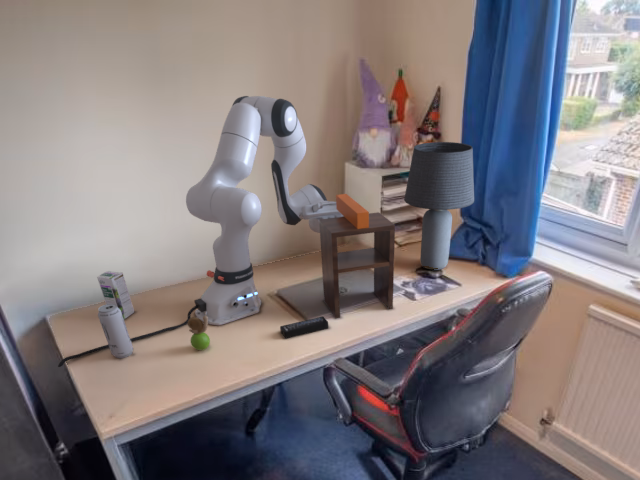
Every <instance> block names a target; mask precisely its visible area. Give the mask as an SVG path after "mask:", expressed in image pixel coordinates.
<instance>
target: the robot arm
mask: <svg viewBox="0 0 640 480" xmlns="http://www.w3.org/2000/svg"><path fill="white" fill-rule="evenodd" d="M261 136H262V137H266V138H267V137H268V138H271V141H272V144H273V150H274V151H273V152H274V153H273V159H272V161H271V164H270V169H271V176H272V181H273V185H274V190H275V196H276V202H277V212H278V215H279V218H280V219H281V221H282V222H283V223H284V224H285V225H289V226H296V225H298V224H299V223H300V222H301V221H302V220H308V226H309V228H310V230H311V231H312V232H315V233H317V234H320V225H319V219H328V218H336V217H344V216H343V215H342V214H341V213H340V212H339V211H338V210H337V209H336V201H330V200H328V199H327V196H326V195H325V193H324V192H323V190H322V189H321V188H320V187H319V186H317V185H314V184H312V183H308V184H305V186H303V187H301V188H299V189H298V190H296V191H295V192H294V193H292V194H290V190H289V178H290V177H291V175H292V173H293V172H294V170H295V169H296V168H297V167H298V165H300V164H301V162H302V161H303V160H304V157H305V155H306V152H307V141H306V137H305V133H304V130H303V127H302V125H301V122H300V120H299V117H298V112H297V109H296V108H295V106H294V105H293V103H292V102H291V101H289V100H287V99H284V98H275V97H269V96H264V95H253V96H249V95H243V96H239V97H237V98H236V99H235V100H234V101H233V103H232V105H231V107H230V109H229V111H228V113H227V115H226V118H225V121H224V123H223V126H222V129H221V133H220V137H219V141H218V145H217V148H216V151H215V156H214V159H213V161H212V163H211V165H210V167H209V169H208V170H207V171H206V173H205V174H204V175H203V177H202V178H201V179H200V181H198V182H197V183H196V184H194V185H193V186H191V187H190V188H189V189H188V190H187V193H186V196H185V205H186V208H187V211H188V212H189V214H190V215H192V216H193V217H195V218H197V219H199V220H201V221H204V222H208V223H209V222H210V223H214V224H219V225H220V229H221V231H220V232H221V233H220V235H219V236H218V237H217V238H216V239H215V240H214V241H213V243H212V251H213V252H212V253H213V257H214V261H215V268H214V271H212V270H209V269H208V270H207V271H206V274H205V275H206V276H207V277H209V278H211V279H212V278H213V281H212V282H211V283H210V284H209V286H208V287H207V288H206V289H205V291H204V292H203V294H202V295H201V296H200V298H197V299H195V300H194V306H193V307H192V308H191V309H190V310H189V311H188V312H187V317H186V318H187V319H186V320H185V321H184V322H182V323H181V324H178V325H173V326H168V327H165V328H162V329H159V330H156V331H152V332H149V333H146V334H142V335H138V336H135V337H130V340H131V343H132V342H135V341H138V340H142V339H145V338H149V337H153V336H156V335H159V334H162V333H166V332H168V331H174V330H176V329H179V328H181V327H184V326H186V325H188V320H189V319H190V318H192V313H193V312H194V311H195V312H194V314H195V317H196V318H199V319H200V320H201V321H202V322H203V323H204V320H203V316H207V317H208V325H211V326H222V325H225V324H228V323H232V322H234V321H237V320H241V319H244V318H246V317H249V316H253V315H256V314H258V313H260V307H261V305H262V300H261V297H260V296H259V294H258V291H257V287H256V284H255V279H254V268H253V263H252V262H251V258H250V257H251V256H250V247H249V238H250V234H251V231H252V228H253V227H254V226H255V225H256V224H258V222H259V221H260V219H261V216H262V211H263V208H262V203H261V200H260V198H259V196H258V195H257V194H256V193H254V192H251V191H249V190H246V189H244V188H241V187H237V186H238V185H239V184H240V182H242V181H243V180H245V179H247V178H248V177H249V176H250V175H251V173H252V170H253V167H254V163H255V159H256V155H257V150H258V146H259V142H260V137H261ZM354 200H355V201H356V202H357V200H356V199H354ZM205 312H207V314H206V315H205ZM106 349H110V348H109V345H108V344H105V345H101V346H99V347H98V346H97V347H95V348H93V349H88V350H86V351H83V352H81V353H77V354H72V355H68V356H66V357H64V358H63V359H61V360H60V362H59V363H58V365H57V367H58V368H61V367H63V365H64V364H65V363H66V362H68V361H71V360H75V359H78V358H81V357H84V356H86V355H90V354H93V353H95V352H99V351H102V350H106Z"/></svg>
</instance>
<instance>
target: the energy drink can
mask: <svg viewBox="0 0 640 480" xmlns="http://www.w3.org/2000/svg"><path fill="white" fill-rule="evenodd" d="M97 309H98V313H97V317H98V320H99V324H100V325H101V328H102V332H103V334H104V336H105V338H106V342H107V345H109V348H108V349H109V351H110V353H111V355H112V356H114V357H115V358H117V359H125V358H128V357H129V356H131V355H132V354H133V351H134V346H133V343H132V342H131V340H130V339H131V337H130V334H129V330H128V328H127V326H126V325H127V324H126V322H125V319H123V316H122V313H121V310H120V309H119V308H118V307H117V305H115V304H106V303H105V304H103V305H101V306H99V307H98V308H97Z"/></svg>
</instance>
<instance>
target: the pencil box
mask: <svg viewBox="0 0 640 480" xmlns="http://www.w3.org/2000/svg"><path fill="white" fill-rule="evenodd" d="M355 200H356V199H354V198H352V197H351V196H350V195H348V194H347V193H341V194H336V195H335V202H336V209H337V210H338V211H339V212H340V213H341V214H342V215H343V216H344V217H345V218H346V219H347V220H348V221H350V222H351V223H352V224H353V225H354V226H355V227H356V228H357V229H362V228H369V213H370V211H368V210H367V209H366V208H364V206H362V205H361V204H360V203H359V202H357V200H356V201H355Z"/></svg>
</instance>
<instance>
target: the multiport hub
mask: <svg viewBox="0 0 640 480" xmlns="http://www.w3.org/2000/svg"><path fill="white" fill-rule="evenodd" d="M279 329H280V335H282V337H283V338H284V339H286V340H287V339H291V338H295V337H299V336H304V335H307V334H312V333H316V332H319V331H320V332H321V331H324V330H328V329H329V321H328V320H327V319H326V317H325V316H317V317H315V318H309V319H305V320H301V321H297V322H293V323H288V324H285V325H284V324H283V325H280V326H279Z"/></svg>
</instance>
